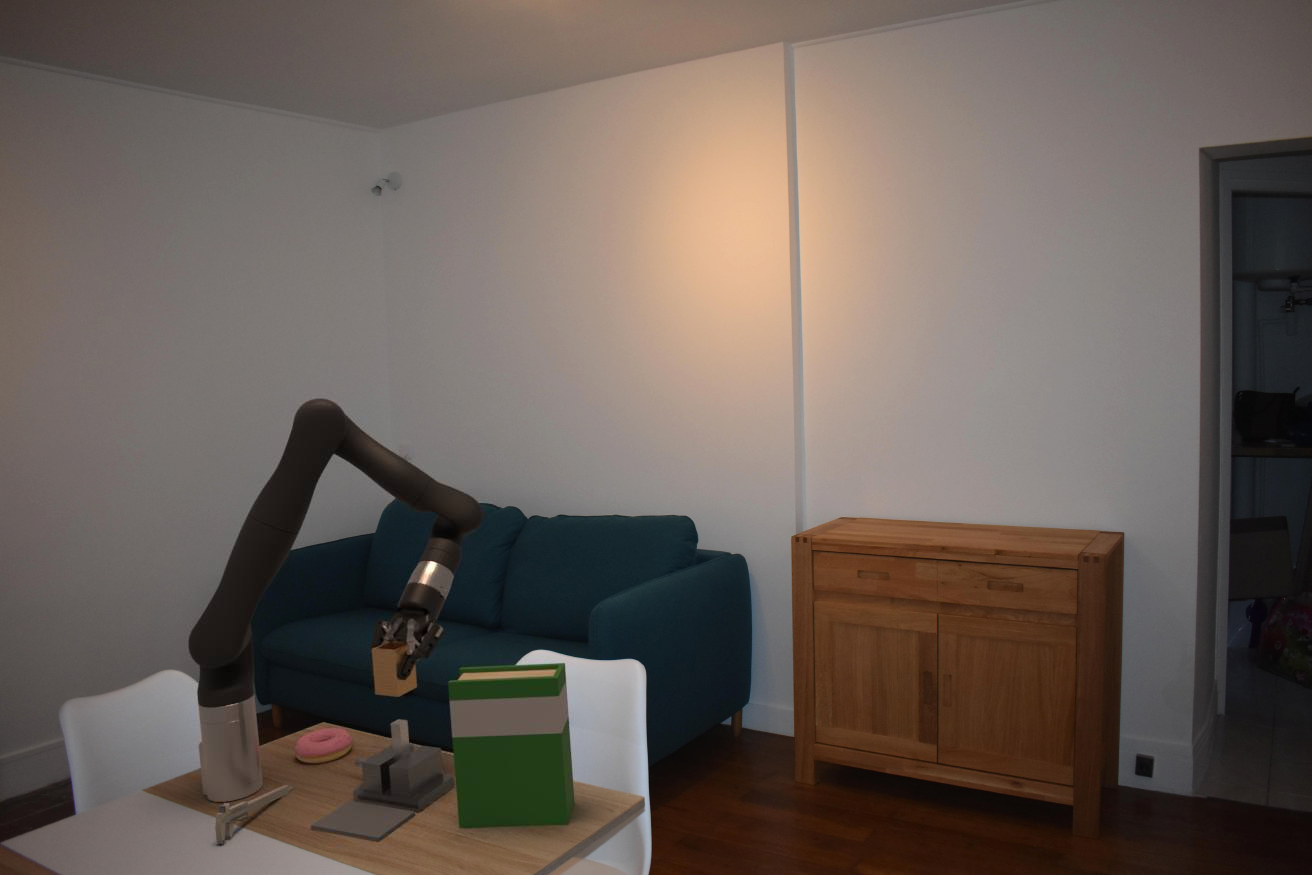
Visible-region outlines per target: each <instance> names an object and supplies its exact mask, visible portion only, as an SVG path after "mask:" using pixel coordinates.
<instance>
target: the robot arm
mask: <svg viewBox="0 0 1312 875" xmlns="http://www.w3.org/2000/svg"><path fill="white" fill-rule="evenodd" d="M292 422H293V423H292V427H291V430H290V434H289V437H288V439H287V441H286V445H285V448H284V450H283V453H282V456H281V458H280V461H279V463H278V465H277V466H276V468H275V470H274V472H273V473H272V475H271V476H270V478H269V479H268V480H267V482H266V483H265V484H264V486H263V488H262V489H261V491H260V492H259V494H258V496H257V498H256V499H255V500H254V503H253V504H252V505H251V507H250V510H249V512H248V514H247V515H246V518H245V520H244V521H243V524H242V526H241V527H240V530H239V532H238V535H237V537H236V539H235V542H234V545H233V547H232V550H231V552H230V555H229V557H228V559H227V563H226V566H225V568H224V572H223V574H222V577H221V579H220V582H219V584H218V586H217V589H216V590H215V592H214V594H213V595H212V597H211V599H210V601H209V603H207V606H206V608H205V609H204V611H203V613H202V614H201V616H200V617H199V619H198V620H197V622H196V623H195V625H194V626H193V627H192V629H191V631H190V633H189V636H188V637H189V638H188V640H187V642H188V651H189V654H190V657H191V658H192V660H193V662H195V664H197V665H198V666H199V680H198V684H197V690H196V691H197V692H196V694H197V704H198V706H197V707H198V716H199V726H200V733H201V734H200V736H201V741H200V743H199V744H198V751H199V764H200V773H201V785H202V786H201V787H202V795H204V796H206V798H207V799H208V800H209V801H211V802H216V803H221V802H224V803H226V802H231V801H235V800H236V801H237V800H240V799H244V798H246V797H249V796H251V795H253V794H255V793H257V792H258V791H260V790H261V788H262V787H263V775H262V774H263V773H262V765H261V764H262V763H261V753H260V750H261V749H260V741H259V732H258V731H259V730H258V729H259V728H258V720H257V710H256V709H257V708H256V700H255V699H256V697H255V688H254V683H255V674H256V673H255V672H256V670H255V654H254V640H253V631H252V626H251V622H252V620H253V617H254V614H255V612H256V609H257V607H258V605H259V602H260V600H262V597H263V595H264V594H265V592H266V590H267V589H268V588H269V587H270V584H271V583H272V582H273V580H274V579H275V578H276V576H277V574H278V573H279V571H280V569H281V568H282V566H284V562H285V561H286V560H287V558H288V556H289V555H290V552H291V550H292V548H293V546H294V544H295V542H296V539H297V537H298V536H299V533H300V530H301V529H302V526H303V524H304V521H305V520H306V516H307V513H308V511H309V508H310V505H311V502H312V499H313V497H314V493H315V490H316V489H317V488H316V487H317V485H318V483H319V480H320V478H321V477H322V474H323V472H324V470H325V469H326V468H327V465H328V464H329V462H330V460H331V459H332V457H333V456H334V455H335V456H338V457H339V458H341V459H342V460H344V461H346V462H348V463H349V464H350V465H352V466H353V467H355V468H356V469H358V470H359V471H360V472H362V473H363V474H364V475H366V476H367V477H368V478H370V479H371V481H373V482H374V483H375V484H377V485H378V486H379V487H380V488H382V490H384V491H385V492H387V493H388V494H389V495H391V496H392V497H393V498H395V499H397V500H399V501H400V502H401V503H402V504H404V505H405V506H407V507H409V508H410V509H411V510H413V511H415V512H417V513H419V514H424V513H426V514H427V513H433V514H435V515H436V517H435V519H434V520H433V522H432V526H431V529H430V532H429V538H428V543H427V546H426V547H425V549H424V550H423V553H422V555H421V557H420V559H419V561H418V563H417V565H416V567H415V568H414V570H413V572H412V573H411V575H410V578H409V579H408V582H407V583H406V586H405V588H404V590H403V592H402V594H401V596H400V599H399V600H398V603H397V611H396V614H395V615H394V616H393V617H392V618H391V619H390V620H385V621H384V619H382V618H379V619H378V620H377V621H376V624H375V628H374V631H373V635H372V641H371V644H370V648H371V650H372V649H373V648H375V647H378V646H380V645H382V644H385V643H390V642H393V641H400V642H407V644H408V645H409V646H408V649H407V656H406V655H405V656H404V658H403V661H402V663H401V665H400V667H399V670H398V672H397V676H398V677H399V678H400V679H401V680H406V679H407V677H409V675H410V674H411V671H412V669H413V667H414V665H415V666H416V663H417V662H418V661H419V660H421V659H424V660H426V659H428V658H429V657H430V656H431V654H433V651H434V649H436V647H437V645H438V644H439V642H440V641H441V639H442V638H443V635H444V634H445V633H446V632H445V629H444V628H443V627H442V626H441V625H440V624H439V623H438V622H437V620H438V618H439V615H440V613H441V610H442V609H443V606H444V604H445V601H446V599H447V597H448V595H449V593H450V591H451V587H452V583H453V580H454V578H455V576H456V574H457V571H458V569H459V566H460V564H461V561H462V558H463V551H462V548H461V546H462V543H463V541H464V539H465V538H466V536H468V535H470V534H471V533H473V532H475V531H476V530H478V529H480V527H481V526H482V525H483V522H484V519H485V514H484V513H485V512H484V509H483V508H482V506H481V504H480V503H479V502H478V501H477V500H476V498H474V496H471V495H469V494H468V493H466V492H464V491H462V490H459V489H456V488H454V487H452V486H450V485H448V484H445V483H441V482H439V481H437V480H436V479H434V478H433V477H432V476H430V475H429V474H427V472H425V471H423V470H422V469H421V468H419V467H417V466H416V465H415V464H413V463H411V462H410V461H408V460H407V459H405V458H403V457H402V456H400V455H398V454H397V453H396V452H393V451H392V450H390V449H389V448H388V447H385V445H383V444H382V443H380V442H379V441H377V440H376V439H374V438H373V437H371V436H370V435H369V434H368V433H367V432H365V431H364V430H363V429H361V428H360V427H359V426H358V425H357V424H356V423H355V422H354V421H353V420H352V419H351V418H350V417H349V416H348V415H347V414H346V413H345V412H344V410H343V409H342V407H341V406H340V405H339V404H337V402H334V401H333V400H330V399H327V398H320V397H319V398H314V399H310V400H307V401H306V402H304V403H303V404H301V406H300V407H299V408H298V409H297V410H296V412H295V415H294V417H293V421H292ZM394 639H395V640H394ZM370 673H371V675H373V676H374V671H373V663H372V665H371V666H370Z"/></svg>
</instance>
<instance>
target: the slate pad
mask: <svg viewBox="0 0 1312 875" xmlns="http://www.w3.org/2000/svg"><path fill="white" fill-rule="evenodd" d="M414 816H416V812H414V811H408V810H402V809H396V808H390V807H384V806H378V805H372V804H366V803H360V802H354V800H353V801H352V800H349V801H347V802H346V803H344V804H342V805H341V806H339V807H338V808H336V809H335V810H332V811H331V812H329V813H328V814H326V815H325V816H323V817H322V818H321V819H319V820H317V821H315V822H313V823H312V824H311V825H310V829H311V830H315V831H319V832H326V833H332V834H335V835H336V834H337V835H341V836H342V835H343V836H346V837H347V836H348V837H353V838H359V839H363V840H368V841H374V842H379V843H380V841H382V840H383V839H384V838H386V837H387V836H388V835H391V833H393V832H394V831H395V830H397V829H398V828H400V827H401V826H403V825H404V824H405V823H407V822H408V821H410V819H412V818H414Z"/></svg>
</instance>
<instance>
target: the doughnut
mask: <svg viewBox="0 0 1312 875" xmlns="http://www.w3.org/2000/svg"><path fill="white" fill-rule="evenodd" d="M352 743H353V737H352V734H351V732H349V730H346V729H345V728H342V727H339V728H338V727H327V728H322V729H321V728H320V729H317V730H313V731H311V732H309V733H306V734H304V735H303V736H300V738H299V739H297V741H296V742H295V744H294V748H293V751H294V754H295V757H296V758H297V759H298V760H299V761H300V762H303V763H305V764H324V763H327V762H332V761H335V760H337V759H339V758H341V757H343V756H344V755H346V754H347V753H349V751H350V750H351V748H352V746H353V744H352Z"/></svg>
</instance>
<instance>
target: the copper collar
mask: <svg viewBox="0 0 1312 875" xmlns="http://www.w3.org/2000/svg"><path fill="white" fill-rule="evenodd" d="M408 646H409V645H408V644H407V642H400V641H397V640H394V641H393V642H390V643H385V644H382V645H380V646H378V647H375V648H373V649H372V648H371V654H372V658H371V659H372V664H373V671H374V675H373V681H374V682H373V683H374V694H375V695H377V696H388V697H396V698H399V697H401V696H403V695H405V694H406V693H409V692H410V691H412V690H414V689H416V688H418V683H417V667H416V664H415V665H414V667H413V669H412V671H411V674H410V675H409V677H407V679H406V680H401V679H400V678H399V677H398V676H397V672H398V670H399V667H400V665H401V663H402V661H403V658H404V656H405V655H406V656H407V649H408Z"/></svg>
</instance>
